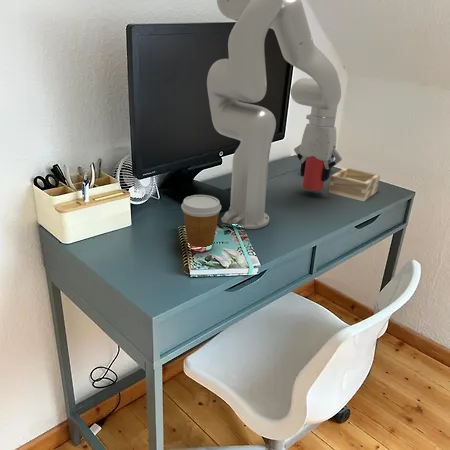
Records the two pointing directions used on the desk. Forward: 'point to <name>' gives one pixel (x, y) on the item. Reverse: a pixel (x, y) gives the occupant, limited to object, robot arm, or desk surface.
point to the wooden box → (354, 184)
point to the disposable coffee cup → (200, 219)
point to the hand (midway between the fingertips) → (314, 177)
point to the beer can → (313, 174)
